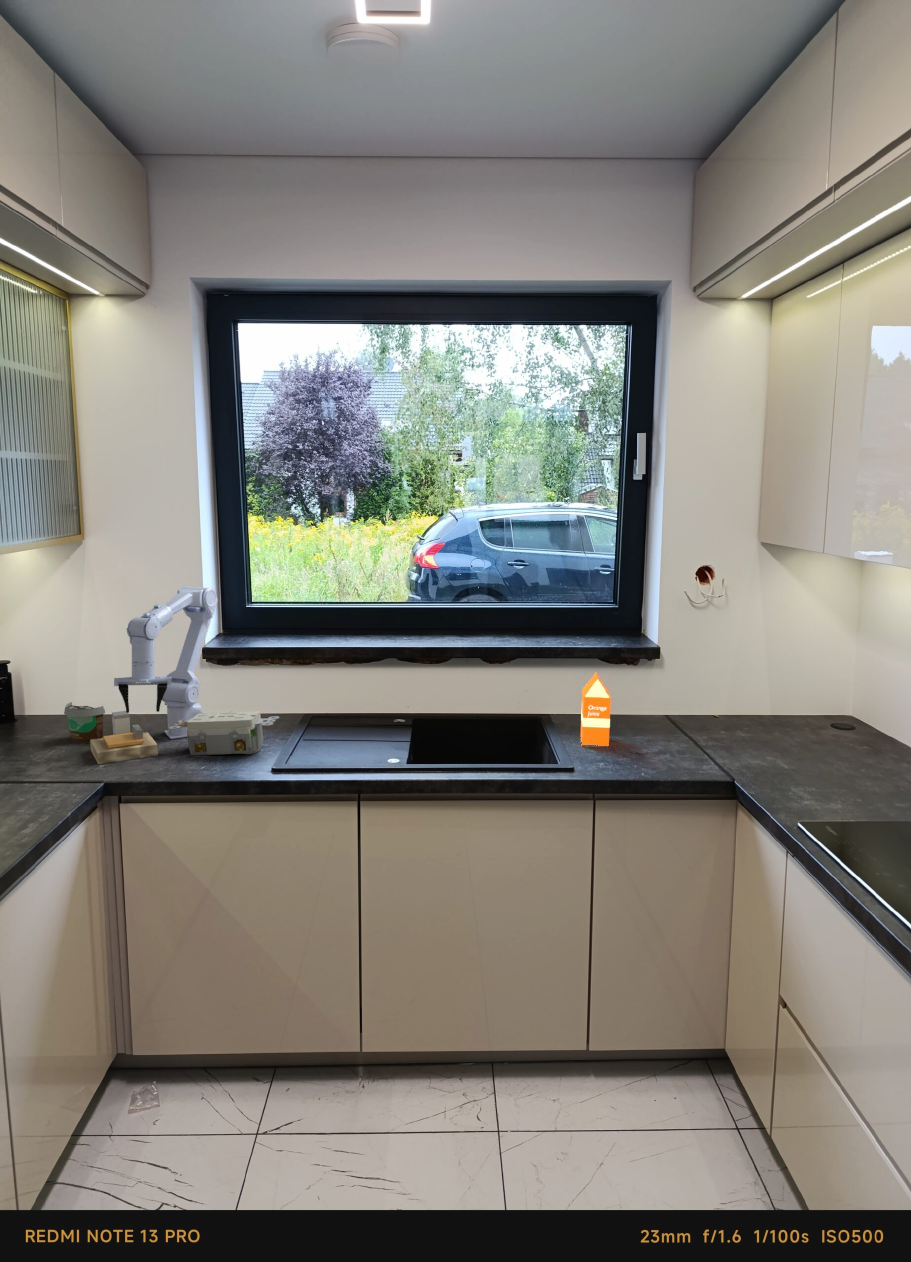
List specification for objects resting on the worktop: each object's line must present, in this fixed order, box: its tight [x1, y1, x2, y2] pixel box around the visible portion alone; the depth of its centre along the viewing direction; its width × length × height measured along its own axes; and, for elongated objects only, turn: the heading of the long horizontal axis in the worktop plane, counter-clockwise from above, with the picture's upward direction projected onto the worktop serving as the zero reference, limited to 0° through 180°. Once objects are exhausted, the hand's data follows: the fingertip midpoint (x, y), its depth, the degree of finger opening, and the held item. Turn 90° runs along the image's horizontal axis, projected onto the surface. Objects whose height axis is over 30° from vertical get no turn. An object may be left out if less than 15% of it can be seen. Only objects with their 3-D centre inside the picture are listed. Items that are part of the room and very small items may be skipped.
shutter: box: [103, 724, 144, 748], centre depth 227 cm, size 9×9×3 cm
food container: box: [63, 702, 106, 744], centre depth 237 cm, size 12×6×10 cm, turn 71°
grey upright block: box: [111, 710, 131, 735], centre depth 238 cm, size 4×4×8 cm
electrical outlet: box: [169, 710, 280, 756], centre depth 230 cm, size 12×28×10 cm, turn 87°
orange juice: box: [580, 672, 612, 746], centre depth 240 cm, size 8×9×20 cm
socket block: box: [89, 731, 159, 765], centre depth 228 cm, size 15×13×3 cm
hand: (142, 711), depth 228 cm, fingers open, 7 cm apart
